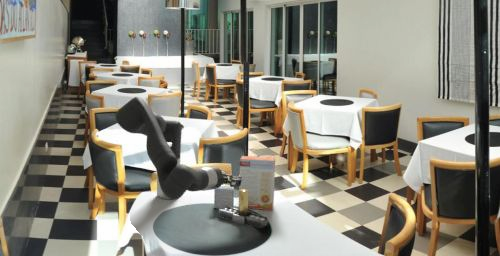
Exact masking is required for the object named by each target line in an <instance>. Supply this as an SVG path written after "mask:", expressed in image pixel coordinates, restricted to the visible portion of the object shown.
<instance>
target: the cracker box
mask: <svg viewBox="0 0 500 256" xmlns="http://www.w3.org/2000/svg"><path fill="white" fill-rule="evenodd" d="M275 168H276V157H270V156H269V157H266V156H265V157H264V156H252V155H251V156H250V155H249V156H247V155H241V157H240V159H239V176H240V177H242V181H241V186H238V191H239V190H240V189H247V190H248V209H255V210H258V209H259V210H270V211H272V210H273V208H274V202H275V201H274V200H275V199H274V198H275V174H276V173H275V172H276V171H275V170H276V169H275Z"/></svg>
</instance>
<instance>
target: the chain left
mask: <svg viewBox="0 0 500 256" xmlns="http://www.w3.org/2000/svg"><path fill="white" fill-rule="evenodd" d="M238 213H239V208H237V207H236V208H235V207H233V208H232V207H228V206H225V208H223V209H218V217H219V216H221V217H224V218H223V219H225V218H227V219H226V220H228V219H229V221H231V222H233V214H237V215H238ZM221 217H220V218H221Z"/></svg>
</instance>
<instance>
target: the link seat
mask: <svg viewBox="0 0 500 256" xmlns="http://www.w3.org/2000/svg"><path fill="white" fill-rule="evenodd" d="M251 213H254V212H253V211H250V210H248V217H249V215H251ZM232 223H236V224H238V225H243V226H244V225H246V224H245V217H244V216H240V215H237V214H233V221H232Z"/></svg>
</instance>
